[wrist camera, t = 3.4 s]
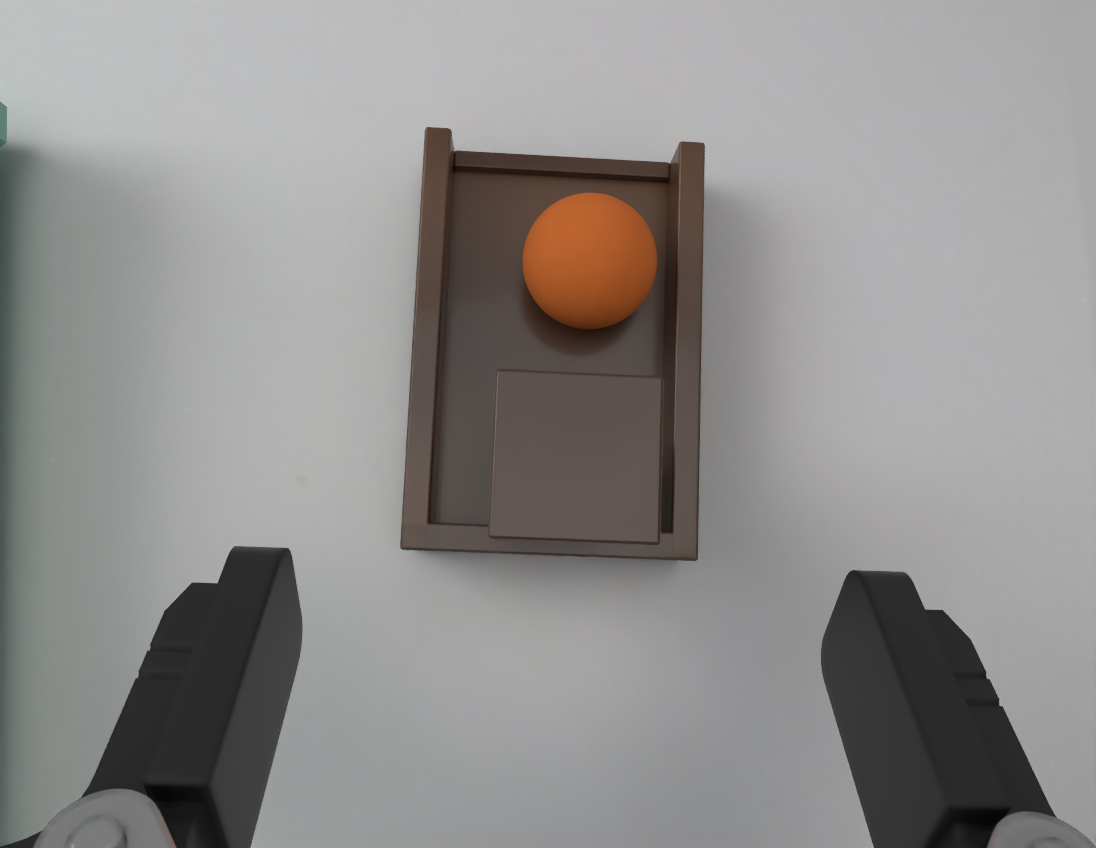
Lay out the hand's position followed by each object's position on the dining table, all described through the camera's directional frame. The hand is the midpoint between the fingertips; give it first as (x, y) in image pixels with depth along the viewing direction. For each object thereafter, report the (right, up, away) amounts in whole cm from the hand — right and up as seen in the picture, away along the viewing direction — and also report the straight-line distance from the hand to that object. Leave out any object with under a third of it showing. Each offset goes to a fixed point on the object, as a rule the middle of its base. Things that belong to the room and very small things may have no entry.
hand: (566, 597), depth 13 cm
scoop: (0, +4, +9) cm, 10 cm away
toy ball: (+1, +6, +7) cm, 9 cm away
